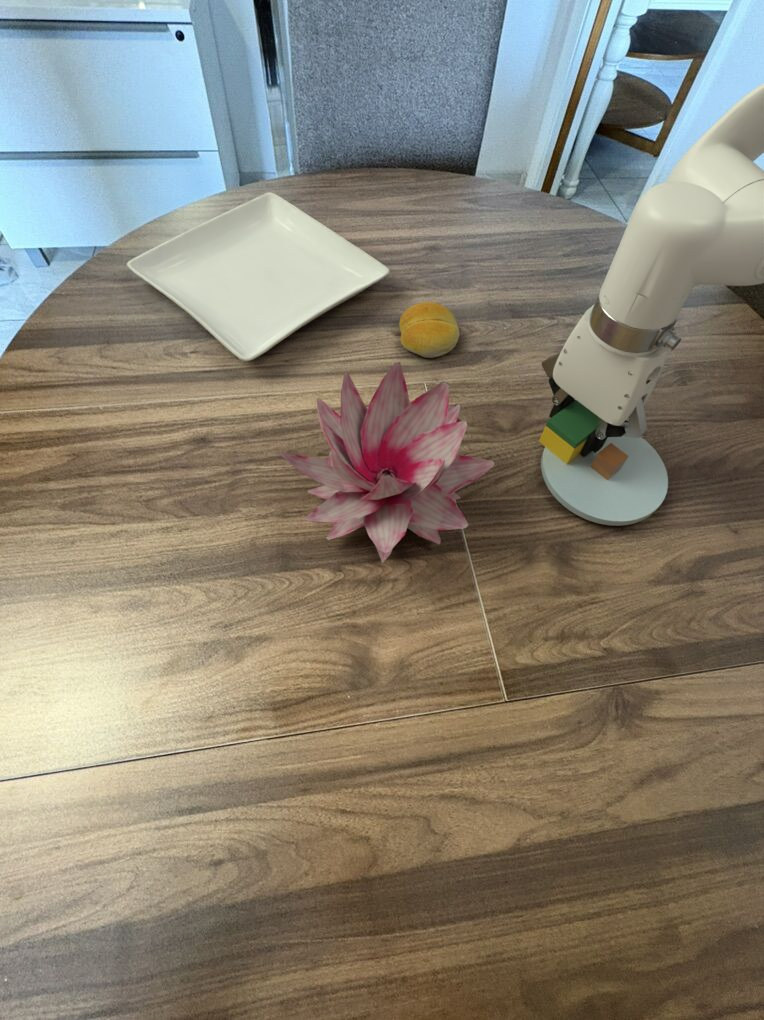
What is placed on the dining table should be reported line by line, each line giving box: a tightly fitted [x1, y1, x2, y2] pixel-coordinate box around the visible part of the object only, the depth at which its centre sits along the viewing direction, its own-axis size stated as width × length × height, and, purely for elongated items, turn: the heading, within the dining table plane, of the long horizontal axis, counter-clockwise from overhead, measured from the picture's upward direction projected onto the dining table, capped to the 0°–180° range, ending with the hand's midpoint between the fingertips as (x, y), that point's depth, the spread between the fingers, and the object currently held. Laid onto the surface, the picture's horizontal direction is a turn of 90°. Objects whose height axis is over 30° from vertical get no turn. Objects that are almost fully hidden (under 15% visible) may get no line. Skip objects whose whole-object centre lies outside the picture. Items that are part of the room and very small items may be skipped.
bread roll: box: [398, 301, 460, 359], centre depth 85 cm, size 8×9×4 cm
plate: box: [540, 436, 669, 527], centre depth 74 cm, size 15×15×2 cm
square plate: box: [125, 192, 391, 362], centre depth 89 cm, size 27×27×4 cm
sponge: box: [538, 399, 598, 464], centre depth 74 cm, size 8×4×4 cm, turn 131°
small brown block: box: [590, 443, 629, 480], centre depth 72 cm, size 3×3×3 cm
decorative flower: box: [279, 361, 495, 564], centre depth 65 cm, size 21×21×15 cm
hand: (573, 436), depth 76 cm, fingers closed on sponge, 4 cm apart
